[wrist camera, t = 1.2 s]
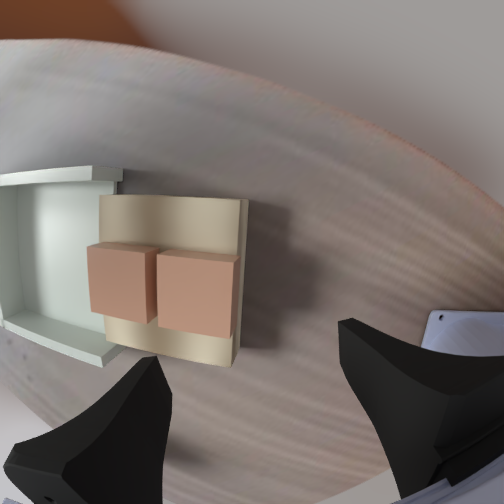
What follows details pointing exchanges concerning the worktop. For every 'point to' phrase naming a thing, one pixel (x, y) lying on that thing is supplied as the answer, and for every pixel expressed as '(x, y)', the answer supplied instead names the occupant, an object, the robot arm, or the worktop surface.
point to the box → (53, 258)
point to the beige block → (183, 238)
